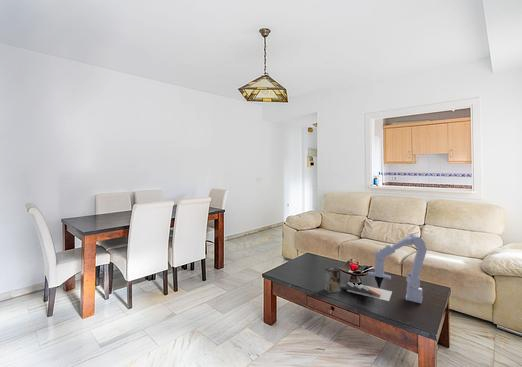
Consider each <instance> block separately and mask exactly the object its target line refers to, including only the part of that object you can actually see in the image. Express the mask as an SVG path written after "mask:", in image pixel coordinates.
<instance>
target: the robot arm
mask: <svg viewBox="0 0 522 367" xmlns="http://www.w3.org/2000/svg"><path fill="white" fill-rule="evenodd" d="M405 246H414V247H415V248H416V253H415V256H414V259H413V263H412V266H411V270H410V271H409V272H408V274H407V275H406V277H405V280H406V282H407V283H406V294H405V301H410V302H414V303H418V304H422V302H423V300H424V299H423V298H424V297H423V288H422V287H420V286H421V282H420V281H421V276H420V275H421V271H422V268H423V264H424V262H425V261H424V260H425V258H426V254H427V247H426V243H425V241H424V239H423V238H422V237H420V236H419V235H418V234H416V233H411V234H409V235H407V236H406V237H404V238H402V239H401V240H399V241H398V242H395V244H392V245H391V244H389V245H388V244H387V245H385V247H383V248H380V249H379V250H376V251H375V252H374V256H375V259H374V260H375V261H374V271H368V272H367V275H368V276H373V277H374V280H375V283H376V285H377V288H378V289H381V286H382V283H383V280H384V279H387V280H391V279H392V275H389V274H386V273H385V259H386V258H387V257H389V256H391V255H393V254H395V253H396V250H398V249H400V248H403V247H405Z"/></svg>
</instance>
